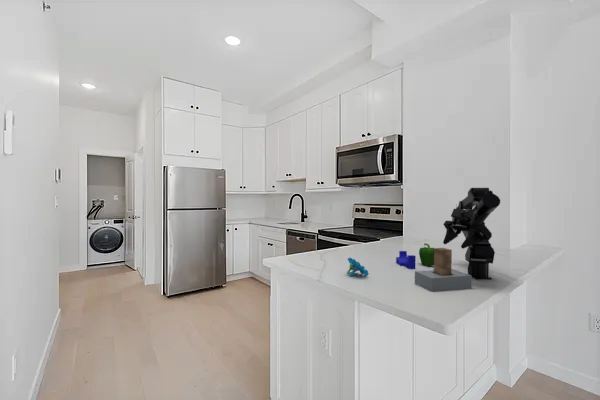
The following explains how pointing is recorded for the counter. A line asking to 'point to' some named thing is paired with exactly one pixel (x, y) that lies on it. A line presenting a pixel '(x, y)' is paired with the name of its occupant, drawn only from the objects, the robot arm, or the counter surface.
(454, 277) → the grey socket block
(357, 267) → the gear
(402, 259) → the blue stepped arch
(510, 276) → the counter surface
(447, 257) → the walnut peg
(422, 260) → the bell pepper
